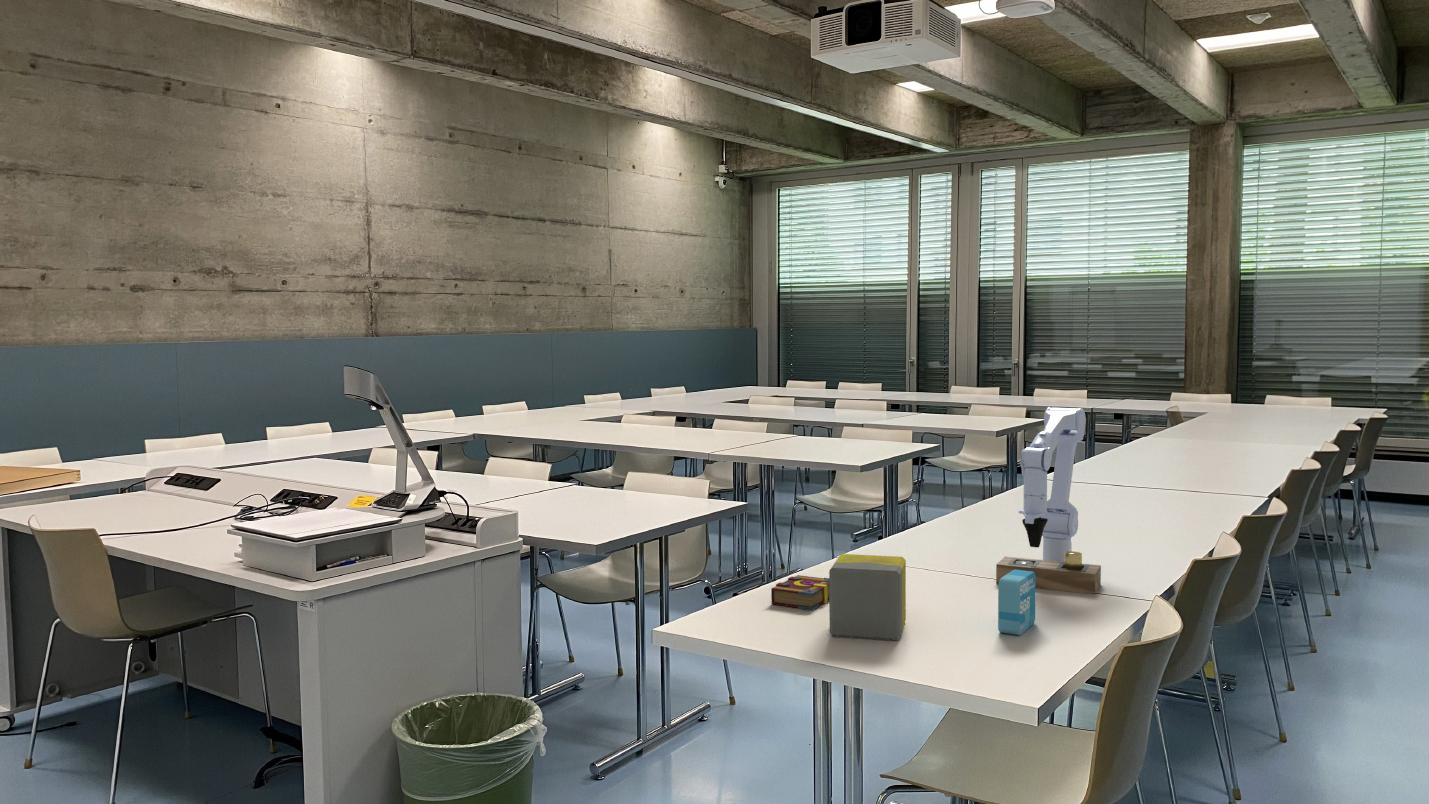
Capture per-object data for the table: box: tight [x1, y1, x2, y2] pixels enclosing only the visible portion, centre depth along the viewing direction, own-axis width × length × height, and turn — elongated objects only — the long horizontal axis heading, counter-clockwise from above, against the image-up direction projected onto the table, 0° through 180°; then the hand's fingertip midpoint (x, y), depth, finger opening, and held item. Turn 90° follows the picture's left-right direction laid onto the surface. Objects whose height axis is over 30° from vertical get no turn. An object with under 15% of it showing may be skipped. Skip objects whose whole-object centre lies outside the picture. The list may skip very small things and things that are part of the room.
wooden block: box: [995, 556, 1102, 595], centre depth 258 cm, size 10×24×5 cm, turn 61°
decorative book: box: [770, 574, 829, 611], centre depth 246 cm, size 11×16×5 cm
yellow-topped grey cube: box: [828, 553, 907, 642], centre depth 226 cm, size 15×24×15 cm, turn 164°
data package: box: [997, 570, 1036, 636], centre depth 220 cm, size 12×4×12 cm, turn 146°
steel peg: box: [1016, 561, 1033, 565], centre depth 261 cm, size 4×4×4 cm
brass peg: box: [1064, 551, 1083, 570], centre depth 255 cm, size 4×4×4 cm
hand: (1034, 546), depth 259 cm, fingers closed
